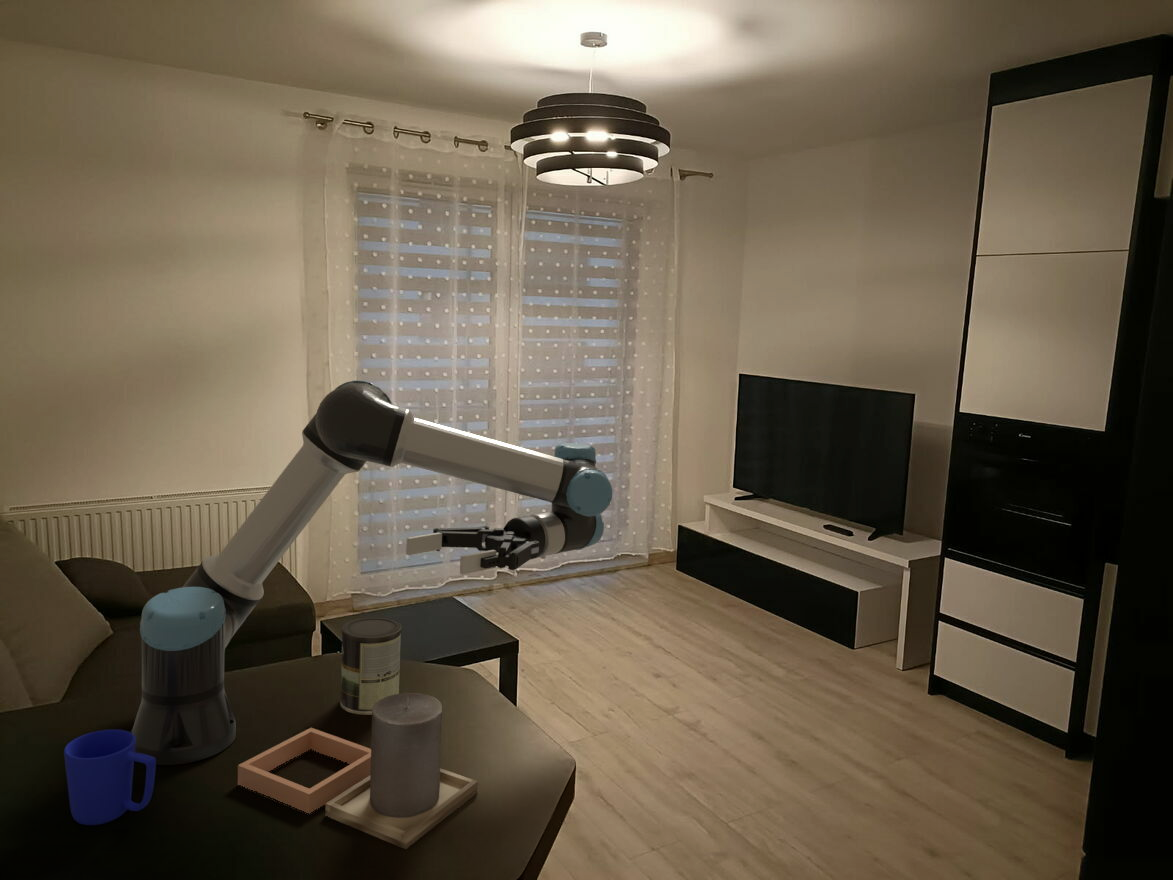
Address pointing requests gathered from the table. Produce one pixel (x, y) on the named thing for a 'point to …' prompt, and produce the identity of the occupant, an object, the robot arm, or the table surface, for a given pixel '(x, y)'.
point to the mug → (104, 776)
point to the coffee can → (369, 663)
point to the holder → (300, 797)
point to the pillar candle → (405, 754)
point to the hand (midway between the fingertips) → (433, 555)
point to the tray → (403, 830)
